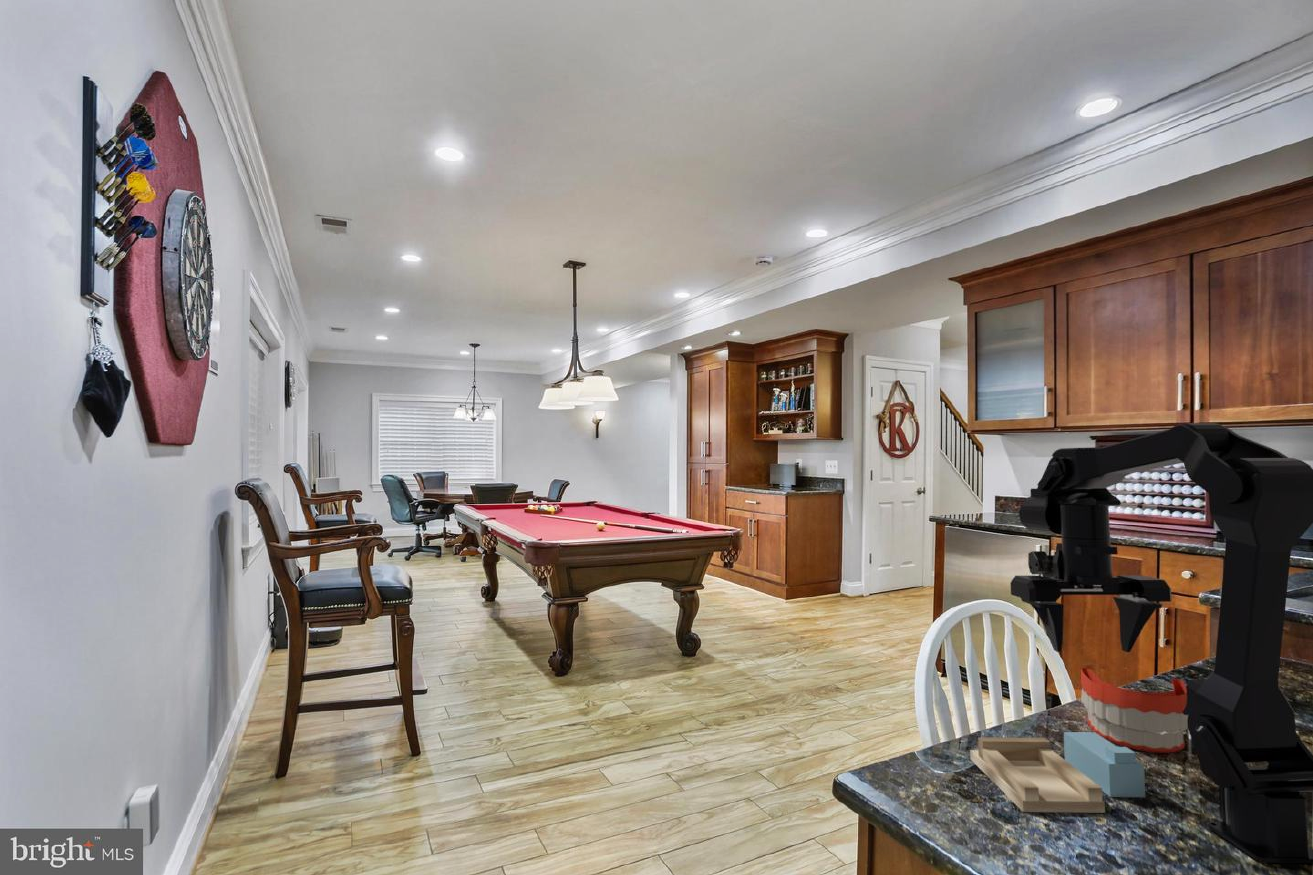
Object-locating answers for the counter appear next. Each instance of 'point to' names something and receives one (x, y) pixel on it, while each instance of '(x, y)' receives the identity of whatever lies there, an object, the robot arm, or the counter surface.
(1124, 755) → the blue stepped block
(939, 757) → the counter surface
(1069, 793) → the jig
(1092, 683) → the toy
